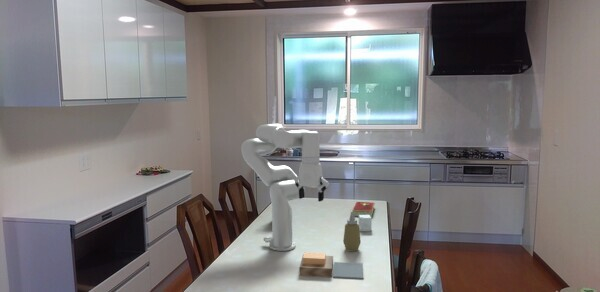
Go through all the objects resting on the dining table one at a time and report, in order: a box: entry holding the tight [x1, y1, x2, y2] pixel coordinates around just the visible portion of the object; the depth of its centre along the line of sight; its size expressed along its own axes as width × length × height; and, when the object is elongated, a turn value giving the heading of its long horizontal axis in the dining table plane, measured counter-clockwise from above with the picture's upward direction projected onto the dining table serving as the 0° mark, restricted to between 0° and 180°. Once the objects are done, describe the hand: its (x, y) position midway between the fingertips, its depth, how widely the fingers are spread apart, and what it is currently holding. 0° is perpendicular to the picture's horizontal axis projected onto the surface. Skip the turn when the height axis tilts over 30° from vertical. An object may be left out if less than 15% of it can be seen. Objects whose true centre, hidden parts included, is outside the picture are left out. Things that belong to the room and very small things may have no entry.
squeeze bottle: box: [343, 211, 362, 252], centre depth 191 cm, size 8×8×18 cm
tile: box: [302, 251, 327, 265], centre depth 170 cm, size 9×6×2 cm, turn 83°
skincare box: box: [358, 215, 373, 232], centre depth 221 cm, size 6×6×7 cm
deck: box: [298, 254, 334, 278], centre depth 170 cm, size 13×13×4 cm
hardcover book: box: [351, 201, 376, 218], centre depth 254 cm, size 12×21×4 cm, turn 166°
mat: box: [332, 261, 365, 280], centre depth 169 cm, size 12×14×1 cm
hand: (311, 199), depth 177 cm, fingers open, 9 cm apart
